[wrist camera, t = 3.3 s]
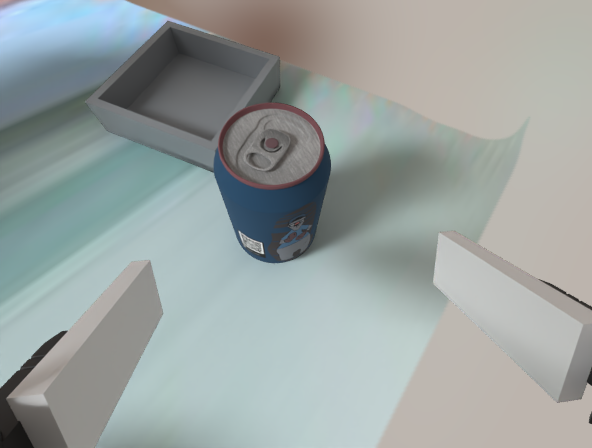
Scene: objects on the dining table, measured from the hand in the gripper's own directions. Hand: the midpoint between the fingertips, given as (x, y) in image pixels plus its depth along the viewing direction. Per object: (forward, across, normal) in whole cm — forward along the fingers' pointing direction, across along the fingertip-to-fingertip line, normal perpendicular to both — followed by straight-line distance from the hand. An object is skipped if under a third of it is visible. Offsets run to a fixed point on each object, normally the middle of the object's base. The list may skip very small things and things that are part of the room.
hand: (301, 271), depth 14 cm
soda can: (+13, -1, -3) cm, 14 cm away
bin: (+24, -8, +8) cm, 27 cm away
